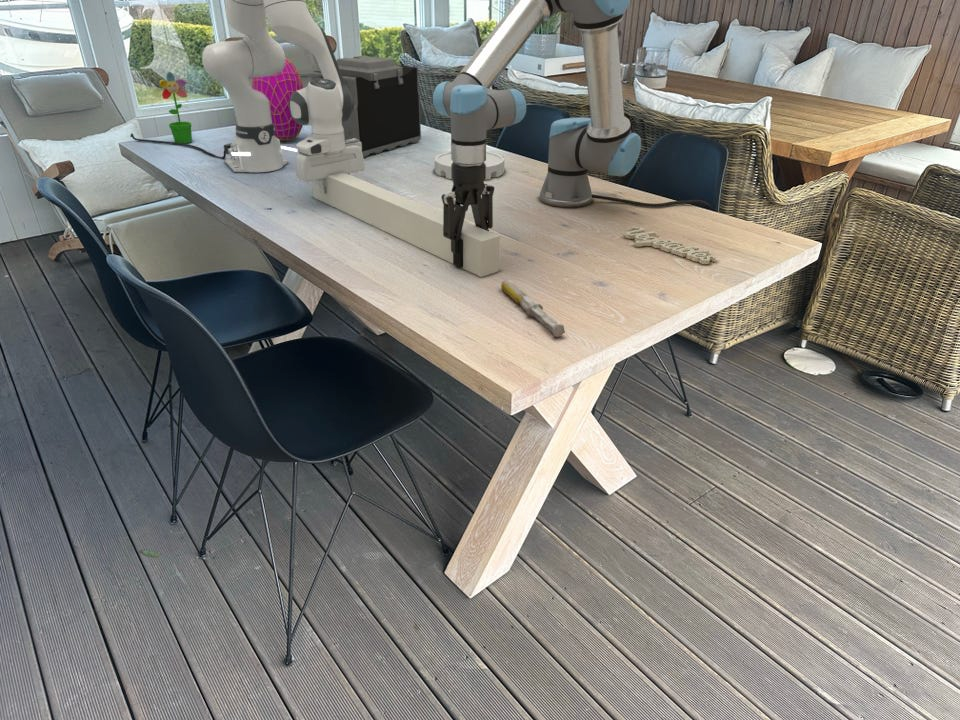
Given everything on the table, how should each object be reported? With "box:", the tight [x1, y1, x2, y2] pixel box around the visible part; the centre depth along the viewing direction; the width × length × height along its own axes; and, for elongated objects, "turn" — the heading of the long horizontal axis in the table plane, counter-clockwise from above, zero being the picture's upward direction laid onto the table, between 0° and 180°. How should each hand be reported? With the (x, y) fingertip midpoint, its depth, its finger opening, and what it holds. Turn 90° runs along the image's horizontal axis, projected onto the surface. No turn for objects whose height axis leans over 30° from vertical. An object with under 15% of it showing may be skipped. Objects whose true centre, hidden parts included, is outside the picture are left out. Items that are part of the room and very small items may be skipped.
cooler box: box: [310, 55, 422, 158], centre depth 250 cm, size 37×22×30 cm, turn 144°
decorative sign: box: [624, 226, 717, 265], centre depth 170 cm, size 26×1×10 cm
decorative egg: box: [251, 57, 305, 142], centre depth 257 cm, size 19×19×30 cm
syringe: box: [500, 279, 566, 338], centre depth 139 cm, size 25×4×3 cm, turn 21°
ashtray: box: [434, 151, 505, 181], centre depth 228 cm, size 23×23×4 cm
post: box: [311, 172, 501, 278], centre depth 178 cm, size 76×5×8 cm, turn 41°
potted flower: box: [158, 71, 193, 144], centre depth 254 cm, size 9×8×25 cm
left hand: (333, 191), depth 198 cm, fingers closed on post, 5 cm apart
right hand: (468, 262), depth 160 cm, fingers closed on post, 5 cm apart
